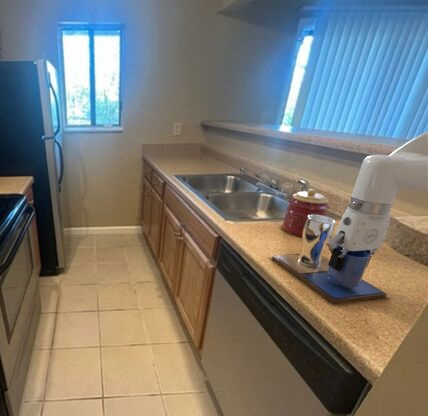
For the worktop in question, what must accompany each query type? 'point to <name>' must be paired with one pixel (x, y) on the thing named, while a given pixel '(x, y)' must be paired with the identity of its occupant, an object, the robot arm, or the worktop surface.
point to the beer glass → (315, 239)
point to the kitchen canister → (303, 210)
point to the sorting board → (327, 281)
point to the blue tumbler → (350, 269)
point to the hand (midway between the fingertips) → (347, 266)
